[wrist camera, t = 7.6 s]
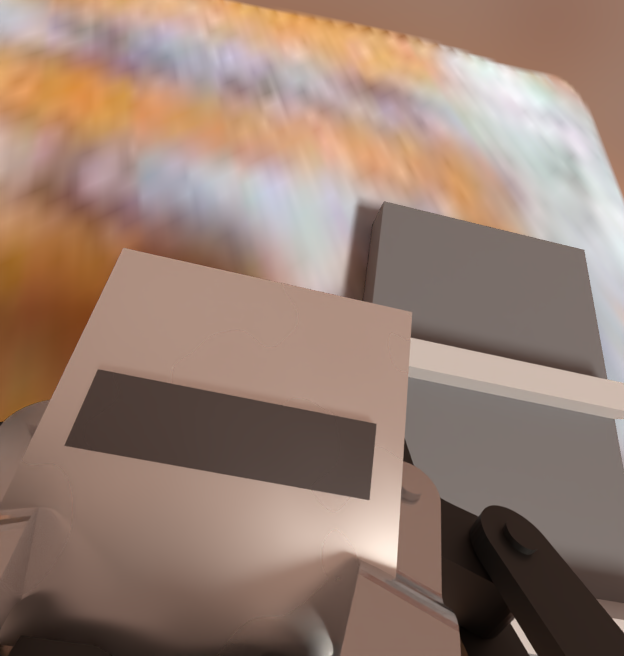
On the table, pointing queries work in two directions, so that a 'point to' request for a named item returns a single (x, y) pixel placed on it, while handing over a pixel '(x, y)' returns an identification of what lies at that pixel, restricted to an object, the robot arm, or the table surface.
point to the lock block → (213, 466)
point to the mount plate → (508, 383)
